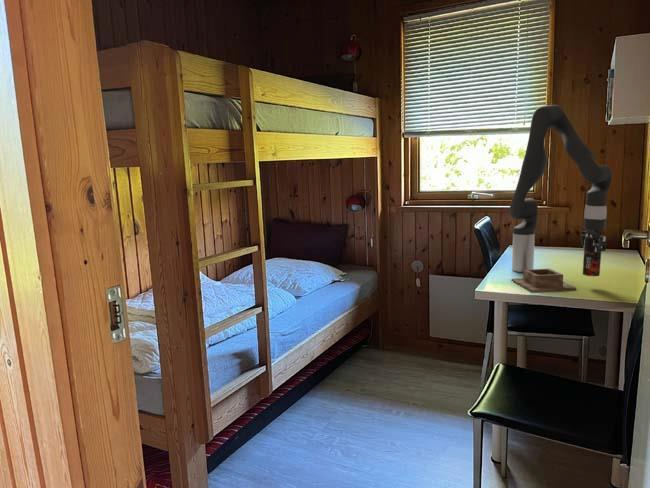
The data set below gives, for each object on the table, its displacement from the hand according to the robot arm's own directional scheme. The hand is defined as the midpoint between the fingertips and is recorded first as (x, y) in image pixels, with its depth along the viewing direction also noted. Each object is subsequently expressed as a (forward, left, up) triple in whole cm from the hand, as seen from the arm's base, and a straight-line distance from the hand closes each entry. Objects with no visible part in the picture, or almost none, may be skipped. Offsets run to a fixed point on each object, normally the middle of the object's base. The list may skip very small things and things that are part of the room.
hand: (592, 259), depth 193 cm
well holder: (-7, -16, -11) cm, 21 cm away
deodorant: (0, 0, -6) cm, 6 cm away
